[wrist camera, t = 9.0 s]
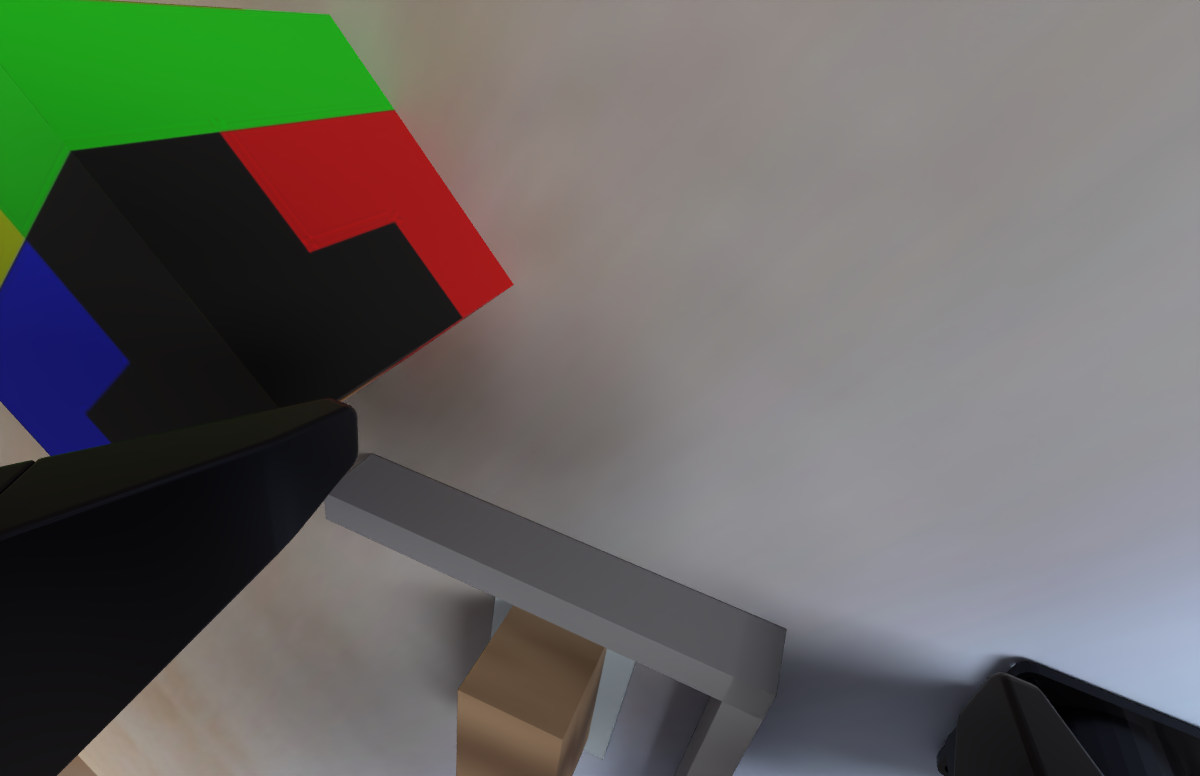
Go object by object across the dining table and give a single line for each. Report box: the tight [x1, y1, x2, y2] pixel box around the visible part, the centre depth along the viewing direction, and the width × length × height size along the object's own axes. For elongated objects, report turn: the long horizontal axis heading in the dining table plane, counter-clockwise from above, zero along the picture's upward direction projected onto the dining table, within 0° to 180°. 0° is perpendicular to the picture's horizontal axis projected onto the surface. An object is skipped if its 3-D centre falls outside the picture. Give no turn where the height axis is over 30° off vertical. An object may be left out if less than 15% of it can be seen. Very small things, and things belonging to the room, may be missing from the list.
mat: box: [490, 597, 635, 760], centre depth 30 cm, size 7×10×1 cm
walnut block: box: [456, 605, 607, 776], centre depth 28 cm, size 8×4×5 cm, turn 172°
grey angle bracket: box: [324, 454, 786, 776], centre depth 29 cm, size 19×17×3 cm
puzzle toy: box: [0, 0, 514, 456], centre depth 19 cm, size 10×10×10 cm
